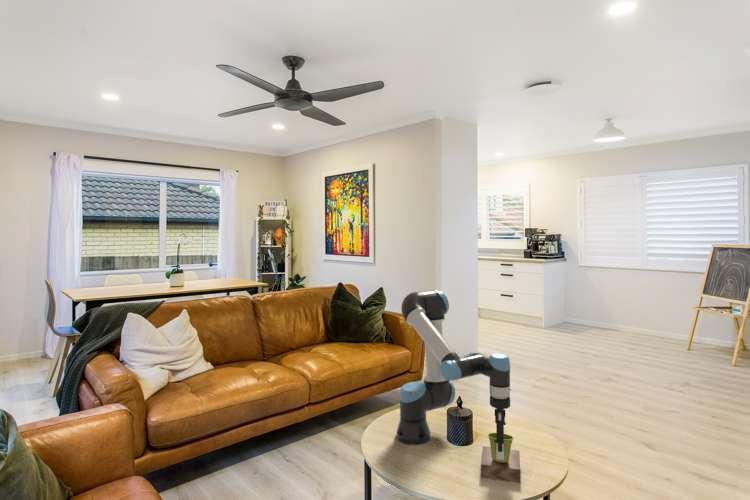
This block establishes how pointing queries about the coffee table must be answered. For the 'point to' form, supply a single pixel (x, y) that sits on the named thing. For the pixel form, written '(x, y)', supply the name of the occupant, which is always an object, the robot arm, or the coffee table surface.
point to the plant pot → (507, 446)
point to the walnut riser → (500, 466)
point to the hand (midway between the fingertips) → (500, 450)
